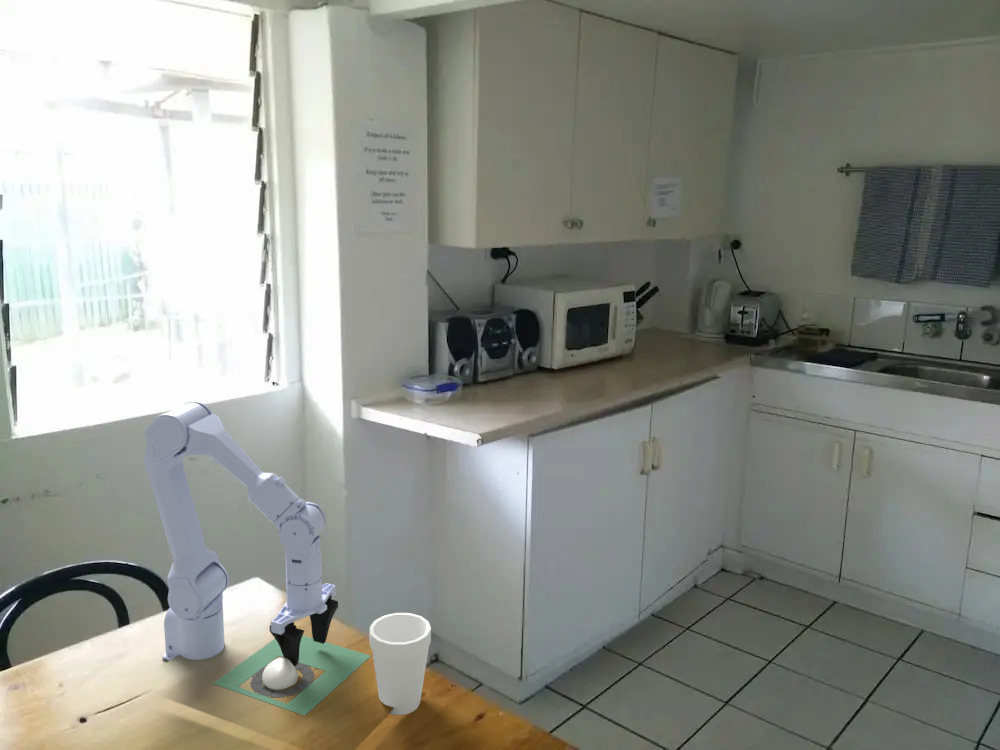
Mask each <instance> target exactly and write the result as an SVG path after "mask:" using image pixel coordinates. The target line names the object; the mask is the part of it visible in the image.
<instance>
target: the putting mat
mask: <svg viewBox="0 0 1000 750" xmlns="http://www.w3.org/2000/svg"><path fill="white" fill-rule="evenodd" d="M370 657H372V655H370V654H367V653H364V652H360V651H357V650H353V649H351V648H347V647H343V646H340V645H337V644H334V643H329V642H327V641H326V642H325V643H324V644H322V643H319V642H315V641H314V640H313V637H310V636H307V635H304V634H303V635H302V638H301V642H300V649H299V662H298V664H297V665H296V666H294V667H295V669H296V670H297V671H299V672H300V673H301V675H302V678H301V680H300V681H299V683H297V684H296V685H294V686H293V687H288V688H285V689H280V690H274V689H270V688H268V687H267V686H266V685H265V684H264V682H263V680H262V675H263V671H264V669H265V668H266V666H267V665H268V664H269V663H271V662H272V661H274V660H276V659H278V658H284V657H283V654H282V651H281V648H280V646H279V644H278V642H277V641H276V639H275V638H273V639H272V640H271V641H270V642H268V643H267V644H265V645H264V646H263V647H261V648H259V649H258V650H257V651H256V652H254V653H253V654H251V655H250V656H248V657H247V658H246V659H245V660H243V661H242V662H241V663H239V664H238V665H236V666H235V667H233V668H232V669H231V670H229V671H228V672H226V673H225V674H224V675H223V676H220V677H219V678H218V679H217V680H216V681H214V682H213V683H212V684H213V685H215V686H218V687H221V688H223V689H227V690H230V691H233V692H236V693H238V694H241V695H245V696H247V697H249V698H253V699H255V700H258V701H261V702H264V703H267V704H270V705H272V706H275V707H278V708H281V709H285V710H287V711H290V712H293V713H295V714H299V715H301V716H304V717H305V716H306V715H307V714H309V712H311V711H312V710H313V709H314V708H315V707H317V705H318V704H319V703H321V702H322V701H323V700H324V699H325V698H326V697H327V696H328V695H329V694H331V692H333V691H334V690H335V689H336V688H337V687H338V686H339V685H341V684H342V683H343V682H344V681H345V680H346V679H348V678H349V677H350V676H351V675H352V674H353V673H354V672H355V671H356V670H358V669H359V667H361V666H362V665H363V664H364V663H366V661H368V660H369V659H370ZM311 667H312V668H314V669H318V670H321V671H324V672H323V673H322V674H321V675H320V676H318V677H317V678H316V679H315V680H314V678H315V672H314V670H313V669H312V668H311ZM249 679H251V680H250V684H249V685H250V687H251V689H252V690H253V691H252V690H249V689H247V688H243V687H240V686H241V685H242V684H244V683H245V682H246V681H248V680H249ZM296 694H297V695H296ZM294 695H296V696H295V697H294V698H293V699H292V700H290V701H289V702H288V703H286V702H283V701H281V700H277V699H274V698H285V697H286V698H287V697H290V696H294Z"/></svg>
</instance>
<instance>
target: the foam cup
mask: <svg viewBox="0 0 1000 750" xmlns="http://www.w3.org/2000/svg"><path fill="white" fill-rule="evenodd" d="M368 629H369V631H368V632H369V647H370V649H371V651H372V659H373V665H374V673H375V679H376V685H377V692H378V699H379V701H380V702H381V703H382V704H384V705H385V706H388V707H391V708H393V709H391V711H390V712H389V713H388V714H389V715H393V716H403V715H407V714H411V713H412V712H414V711H416V710H417V709H418V708H419V706H420V704H421V701H422V700H421V699H422V693H423V687H424V680H425V674H426V667H427V661H428V654H429V648H430V644H431V642H432V628H431V624H430V622H429V620H427V619H426V618H424V616H421V615H419V614H415V613H412V612H411V613H410V612H395V613H389V614H385V615H382V616H380V617H378V618H377V619H375V620H374V621H373V622H372V624H371V625H370V626H369V628H368Z"/></svg>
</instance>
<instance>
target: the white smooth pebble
mask: <svg viewBox="0 0 1000 750" xmlns="http://www.w3.org/2000/svg"><path fill="white" fill-rule="evenodd" d="M264 668H265V669H264V671H263V675H262V680H263V682H262V683H263V684H264V686H265V687H266V688H269V689H272V690H286V689H289V688H291V686H295V684H296V683H297V681H298V679H299V673H298V670H296V669H295V667H294V666H293V664H292V663H291V661H290V660H289V659H286V658H283V657H277V658H275V659H274V660H273V661H271V662H270V663H269V664H267V665H266V666H265V667H264Z"/></svg>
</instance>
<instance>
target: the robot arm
mask: <svg viewBox="0 0 1000 750" xmlns="http://www.w3.org/2000/svg"><path fill="white" fill-rule="evenodd" d="M143 434H144V436H145V440H146V444H145V445H146V446H145V450H144V455H143V456H144V458H143V462H144V467H145V470H146V473H147V477H148V479H149V483H150V486H151V489H152V490H151V491H152V493H153V496H154V499H155V503H156V506H157V510H158V513H159V517H160V520H161V524H162V527H163V531H164V534H165V538H166V540H167V544H168V547H169V550H170V554H171V557H172V563H171V567H170V569H169V573H168V574H167V578H166V580H167V585H168V595H167V603H168V606H169V608H168V609H167V611H166V613H165V616H164V620H163V628H164V629H163V631H164V632H163V633H164V644H165V646H164V647H165V652H164V653H163V654H162V657H161V658H162V659H164V660H167V661H171V660H173V659H175V658H176V657H178V656H182V657H183V658H185V659H186V660H193V661H200V660H206V659H209V658H213V657H215V656H217V655H219V654H220V653H221V652H222V651H223V650H224V648H225V645H226V641H225V640H226V639H225V627H224V626H225V624H224V605H223V599H224V595H223V592H225V591H226V589H227V588H228V587H229V583H230V576H229V573H228V571H227V569H226V568H225V566H224V565H223V564H222V563H221V562H220V560H219V556H218V554H217V553H216V552H215V551H212V550H210V549H208V547H207V545H206V542H205V541H206V540H205V538H204V534H203V531H202V526H201V524H200V521H199V517H198V516H199V515H198V513H197V510H196V507H195V503H194V499H193V496H192V491H191V489H190V485H189V481H188V478H187V475H186V471H185V467H184V465H183V463H184V462H183V461H184V460H185V458H186V457H187V456H208V457H210V458H212V459H213V460H214V461H215V462H216V463H217V464H218V465H219V466H221V467H222V468H223V469H224V470H225V471H226V472H228V473H229V474H230V475H231V476H233V477H234V478H235V479H236V480H238V482H240V483H241V484H242V485H243V486H245V488H246V493H247V494H246V495H247V500H248V501H249V502H250V503H251V504H252V505H253V506H254V507H256V509H257V510H259V511H260V513H262V514H263V515H264V516H265V517H266V519H268V520H269V522H271V523H272V524H273V525H274V526H275V527H276V528H277V529H279V530H277V537H278V539H279V541H280V543H281V544H282V545H283V547H284V557H285V558H284V560H285V563H284V564H285V588H286V589H285V591H286V596H285V597H286V601H285V603H284V604H283V606H282V607H281V609H280V611H279V612H278V613H277V615H276V616H275V617H274V618H273V619H272V620H271V621H270V624H269V632H270V634H271V635H272V636H273V637H274V638H273V639H276V641H277V642H278V644H279V646H280V648H281V651H282V654H283V657H284V658H286V659H289V660H290V661H291V663H292V664H293V666H296V665H297V664H298V662H299V649H300V642H301V638H302V635H304V633H305V629H301V628H297V625H296V624H295V622H297V621H299V620H302V619H304V618H306V617H309V618H310V625H311V636H312V638H313V640H314V641H315V642H319V643H322V644H324V643H325V642H327V637H328V633H329V631H330V626H331V624H332V623H331V622H332V619H333V617H334V616H335V613H336V611H337V609H338V608H339V602H338V600H336V599H332V598H335V596H336V595H337V593H336V592H337V591H336V590H337V589H336V585H335V584H331V583H327V582H326V583H324V584H323V579H322V577H323V575H322V548H321V547H322V544H321V540H322V539H321V535H320V534H321V533H322V532H323V530H324V529H325V527H326V515H325V513H324V512H323V509H321V508H320V505H319V504H317V503H315V502H312V501H306V500H305V499H303V498H302V499H301V498H300V497H299V496H298V495H297V494H296V493H295V492H294V491H293V490H292V489H291V488H290V487H289V486H288V485H287V484H286V483H287V480H286V479H285V478H284V476H283V477H282V476H281V475H280V476H278V475H277V474H276V473H274V472H264V471H262V470H261V469H260V468H259V466H258V465H257V464H256V463H255V462H254V461H253V459H251V457H250V456H249V455H248V454H247V453H246V452H245V451H244V449H243V448H242V447H241V446H240V445H239V444H238V443H237V442H236V441H235V440H234V438H232V436H231V435H230V434H229V433H228V432H227V430H226V429H225V427H224V425H223V422H222V420H221V418H220V416H218V415H217V414H215V413H213V412H212V410H211V409H210V407H209V406H208V405H207V404H205V403H203V402H201V401H198V400H191V401H187V402H185V403H184V404H182V405H181V406H179V407H177V408H174V409H172V410H170V411H167V412H165V413H162V414H159V415H157V416H156V417H154V418H153V419H152V420H151V422H150V423H149V425H148V426H146V428H145V430H144V432H143ZM283 657H282V658H283Z"/></svg>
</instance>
